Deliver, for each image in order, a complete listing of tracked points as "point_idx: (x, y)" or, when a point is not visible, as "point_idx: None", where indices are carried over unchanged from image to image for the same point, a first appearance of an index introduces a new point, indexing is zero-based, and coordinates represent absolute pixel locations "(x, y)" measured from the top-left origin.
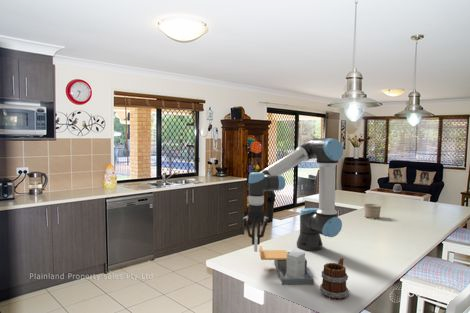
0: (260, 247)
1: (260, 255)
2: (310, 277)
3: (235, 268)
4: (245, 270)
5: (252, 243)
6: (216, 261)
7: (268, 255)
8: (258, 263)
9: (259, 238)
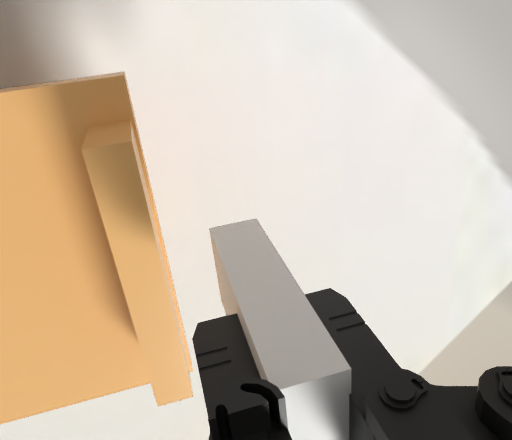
0: (173, 360)
1: (152, 197)
2: None
3: (381, 127)
4: (292, 93)
5: (338, 302)
6: (508, 239)
7: (22, 220)
8: (178, 281)
9: (221, 396)
